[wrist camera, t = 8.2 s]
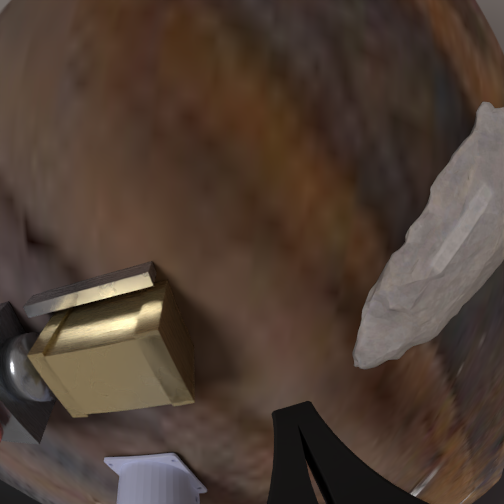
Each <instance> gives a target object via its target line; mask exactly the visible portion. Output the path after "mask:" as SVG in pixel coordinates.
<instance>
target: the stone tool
mask: <svg viewBox="0 0 504 504" xmlns="http://www.w3.org/2000/svg"><path fill="white" fill-rule="evenodd" d="M430 191H431V194H430V197H429V200H428V203H427V205H426V207H425V209H424V210H423V212H422V214H421V215H420V217H419V218H418V219H417V220H416V221H415V222H414V223H413V224H412V225H411V227H410V228H409V229H408V231H407V234H406V237H405V243H404V244H403V245H402V247H401V248H400V249H399V250H397V251H396V252H394V253H393V254H392V255H391V257H390V259H389V261H388V262H387V264H386V266H385V268H384V270H383V271H382V273H381V275H380V277H379V279H378V280H377V282H376V283H375V285H374V286H373V287H372V288H371V290H370V291H369V294H368V297H367V300H366V302H365V305H364V307H363V310H362V320H361V325H360V327H359V330H358V336H357V341H356V344H355V347H354V350H353V358H354V366H355V367H357V366H358V367H360V368H362V369H369V368H373V367H376V366H378V365H380V364H382V363H383V362H385V361H387V360H391V359H399V358H400V357H401V356H402V355H403V354H404V353H405V352H406V350H408V349H409V348H411V347H412V346H415V345H418V344H422V343H425V342H428V341H430V340H431V339H433V338H434V337H436V336H437V335H438V334H439V333H440V332H441V330H442V329H443V328H444V327H445V325H446V324H447V323H448V322H449V320H450V319H451V318H452V317H453V316H455V315H457V313H458V312H459V310H460V309H461V307H462V305H463V304H465V303H466V302H468V301H469V299H470V298H471V297H472V296H473V295H474V294H475V293H476V292H477V291H478V290H479V289H480V288H481V287H482V286H483V285H484V283H485V282H486V281H487V279H488V278H489V277H490V276H491V275H492V274H493V272H494V271H495V269H496V268H497V267H498V266H499V265H500V264H501V263H502V261H503V259H504V107H503V108H494V107H493V106H492V104H491V103H490V102H482V104H481V105H480V107H479V108H478V110H477V112H476V118H475V123H474V127H473V129H472V131H471V134H470V135H469V136H468V137H467V138H466V139H465V140H464V141H463V142H462V144H461V145H460V146H459V148H458V149H457V150H456V151H455V152H454V153H453V155H452V157H451V159H450V161H449V163H448V164H447V166H446V167H445V168H444V169H443V170H442V172H441V173H440V174H439V175H438V176H437V178H436V180H435V181H434V183H433V185H432V186H431V188H430Z"/></svg>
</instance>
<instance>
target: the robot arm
mask: <svg viewBox="0 0 504 504" xmlns="http://www.w3.org/2000/svg"><path fill="white" fill-rule="evenodd" d="M272 418H273V426H274V458H273V470H272V477H271V484H270V491H269V496H268V501H267V504H318V501H317V499H316V496H315V493H314V490H313V487H312V484H311V481H310V477H309V473H308V469H307V464H306V461H307V463H308V465H309V468H310V470H311V472H312V474H313V476H314V479H315V481H316V483H317V485H318V487H319V489H320V492H321V494H322V496H323V498H324V500H325V502H326V504H429V503H427V502H425V501H423V500H420V499H418V498H416V497H415V496H413V495H411V494H409V493H407V492H406V491H404V490H402V489H400V488H399V487H397V486H395V485H394V484H392V483H391V482H389V481H388V480H386V479H385V478H383V477H382V476H381V475H379V474H378V473H377V472H375V471H374V470H373V469H371V468H370V467H369V466H368V465H366V464H365V463H364V462H363V461H362V460H361V459H360V458H358V457H357V456H356V455H355V454H354V453H353V452H352V451H351V450H350V449H349V448H348V447H347V446H346V445H345V444H344V443H343V442H342V441H341V440H340V439H339V438H338V437H337V436H336V435H335V434H334V433H333V431H332V430H331V429H330V428H329V427H328V425H327V424H326V423H325V422H324V420H323V419H322V418H321V417H320V415H319V414H318V412H317V411H316V409H315V408H314V406H313V404H312V403H311V402H310V401H306V402H303V403H299V404H296V405H293V406H289V407H286V408H282V409H279V410H275V411H273V413H272ZM305 459H306V460H305ZM104 462H105V463H106V464H107V465H108V466H109V467H110V468H111V469H112V470H114V471H115V472H116V473H117V474H118V475H119V485H118V495H117V504H200V498H199V493H205V492H207V488H206V487H205V486H204V485H203V484H202V483H201V482H200V481H199V480H198V479H197V477H196V476H195V475H194V474H193V473H192V472H191V471H190V470H189V468H188V467H187V466H186V465H185V464H184V463H183V461H182V460H181V459H180V458H179V457H178V456H177V455H176V454H175V453H164V454H154V455H142V456H127V457H105V458H104Z"/></svg>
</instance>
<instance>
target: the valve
mask: <svg viewBox="0 0 504 504" xmlns="http://www.w3.org/2000/svg"><path fill="white" fill-rule="evenodd" d="M156 274H157V273H156V271H155V268H154V265H153V263H152V261H151V262H148V263H144V264H140V265H137V266H133V267H130V268H126V269H123V270H119V271H116V272H112V273H109V274H105V275H102V276H98V277H95V278H91V279H88V280H84V281H81V282H77V283H74V284H70V285H67V286H63V287H60V288H57V289H53V290H50V291H46V292H43V293H40V294H36V295H33V296H32V297H31V298H30V299H29V300H28V302H27V303H26V304H25V305H24V306H23V308H24V310H25V312H26V314H27V315H28V317H29V318H30V317H34V316H38V315H42V314H46V313H50V312H54V311H58V310H62V309H66V308H69V307H73V306H77V305H81V304H85V303H89V302H93V301H97V300H101V299H104V298H108V297H112V296H116V295H120V294H124V293H128V292H131V291H135V290H139V289H143V288H147V287H151V286H153V285H154V281H155V278H156ZM39 335H40V333H37V332H31V333H26V332H25V331H24V329H23V327H22V325H21V324H20V322H19V320H18V318H17V316H16V314H15V313H14V311H13V309H12V307H11V305H10V303H9V301H8V302H5V303H2V304H0V442H1V441H9V442H19V443H31V444H40V442H41V439H42V436H43V433H44V430H45V428H46V425H47V422H48V419H49V417H50V414H51V411H52V409H53V406H54V404H55V401H56V399H57V397H56V396H55V394H54V393H53V392H52V391H51V389H50V388H49V387H48V385H47V384H46V382H45V381H44V380H43V378H42V377H41V375H40V374H39V373H38V371H37V370H36V368H35V367H34V365H33V364H32V362H31V361H30V359H29V358H28V356H27V355H28V353H29V351H30V350H31V348H32V346H33V345H34V343H35V342H36V340H37V339H38V337H39Z"/></svg>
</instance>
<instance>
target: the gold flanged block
mask: <svg viewBox="0 0 504 504" xmlns="http://www.w3.org/2000/svg"><path fill="white" fill-rule="evenodd" d="M27 356H28V358H29V359H30V361H31V362H32V364H33V365H34V367H35V368H36V370H37V371H38V373H39V374H40V375H41V377H42V378H43V380H44V381H45V382H46V384H47V385H48V387H49V388H50V389H51V391H52V392H53V393H54V394H55V396H56V397H57V398H58V400H59V401H60V402H61V403H62V405H63V406H64V407H65V408H66V410H67V411H68V412H69V413H70V414H71V416H72V417H73V418H75V417H88V416H89V414H93V413H105V412H115V411H124V410H132V409H139V408H147V407H153V406H160V405H166V404H172V405H173V406H179V405H184V404H190V403H195V394H194V345H193V343H192V340H191V338H190V336H189V333H188V331H187V328H186V326H185V323H184V321H183V318H182V316H181V313H180V311H179V308H178V306H177V303H176V301H175V298H174V296H173V293H172V290H171V288H170V285H169V282H168V280H165V281H161V282H157V283H154V285H153V286H151V287H148V288H147V289H146V290H142V291H138V292H134V293H131V294H127V295H123V296H119V297H115V298H111V299H107V300H103V301H100V302H96V303H92V304H88V305H84V306H80V307H76V308H73V307H69V308H66V309H62V310H58V311H55V313H54V314H53V316H52V317H51V319H50V320H49V322H48V323H47V325H46V326H45V328H44V329H43V331H42V332H41V334H40V335H39V337H38V339H37V340H36V342H35V343H34V345H33V346H32V348H31V350H30V351H29V353H28V355H27Z"/></svg>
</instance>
